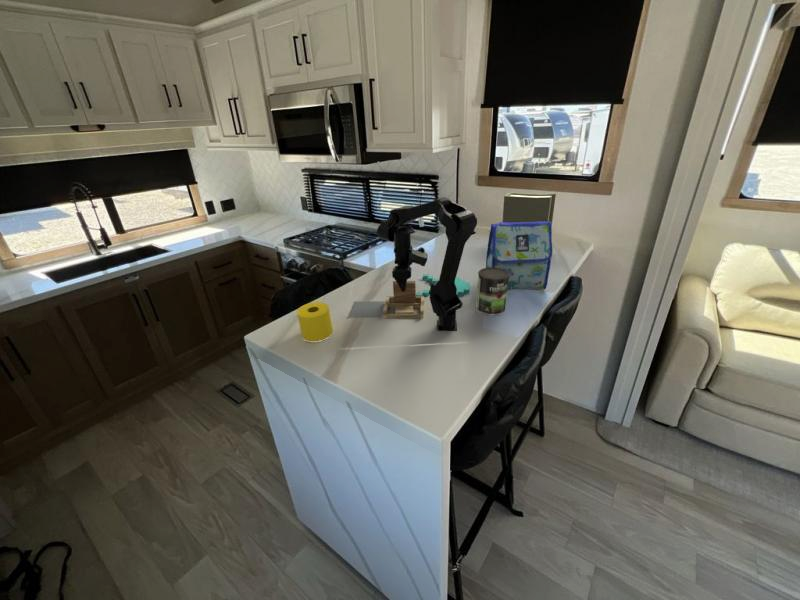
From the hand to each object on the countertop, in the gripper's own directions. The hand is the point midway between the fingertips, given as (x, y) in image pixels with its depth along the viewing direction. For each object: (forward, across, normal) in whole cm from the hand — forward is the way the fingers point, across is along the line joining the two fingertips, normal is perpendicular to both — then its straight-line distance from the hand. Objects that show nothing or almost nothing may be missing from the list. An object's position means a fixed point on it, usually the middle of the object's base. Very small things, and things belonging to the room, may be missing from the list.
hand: (404, 285), depth 128 cm
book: (+9, +57, -55) cm, 80 cm away
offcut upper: (+8, -5, 0) cm, 10 cm away
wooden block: (+8, 0, 0) cm, 9 cm away
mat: (+8, -3, +14) cm, 17 cm away
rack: (+8, -2, 0) cm, 9 cm away
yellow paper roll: (+9, -19, +28) cm, 35 cm away
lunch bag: (+9, +17, -43) cm, 47 cm away
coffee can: (+9, -2, -31) cm, 32 cm away
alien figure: (+9, +15, -15) cm, 23 cm away
